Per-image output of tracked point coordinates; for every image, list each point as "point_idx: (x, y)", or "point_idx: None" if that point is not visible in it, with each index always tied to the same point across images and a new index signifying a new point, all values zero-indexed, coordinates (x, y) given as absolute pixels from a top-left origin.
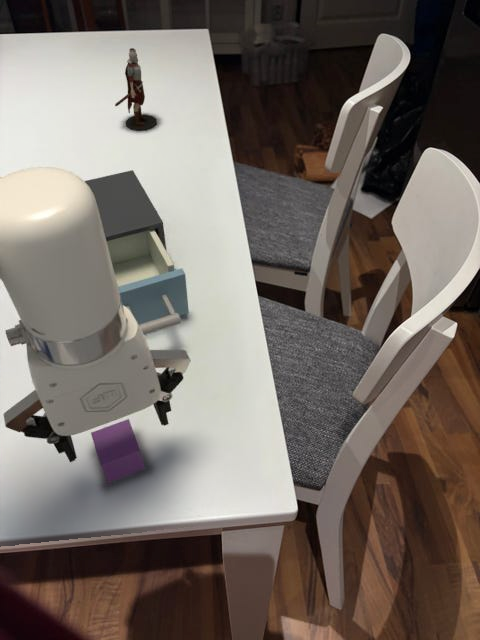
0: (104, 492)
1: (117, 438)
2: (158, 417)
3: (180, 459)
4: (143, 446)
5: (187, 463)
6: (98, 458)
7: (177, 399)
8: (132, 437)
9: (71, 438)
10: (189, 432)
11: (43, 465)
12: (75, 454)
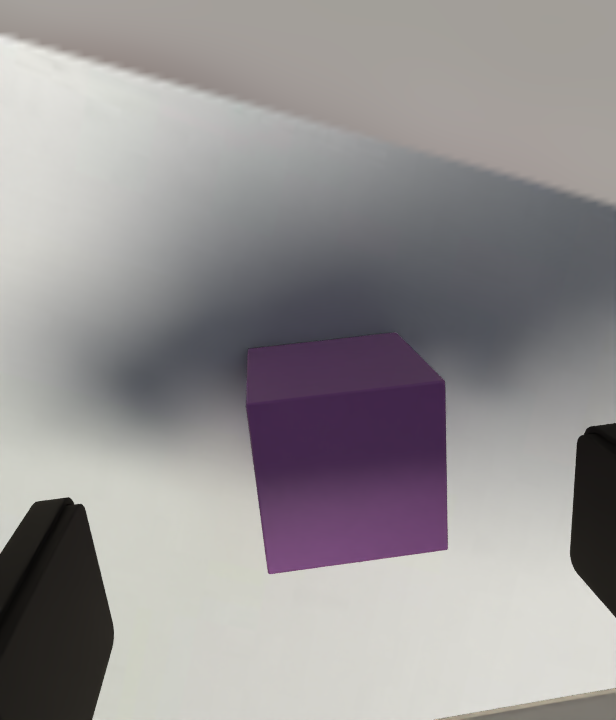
0: (415, 301)
1: (339, 492)
2: (95, 555)
3: (98, 346)
4: (235, 440)
5: (71, 320)
6: (445, 418)
7: None
8: (269, 479)
9: (577, 548)
10: (41, 449)
11: None
12: (590, 456)
